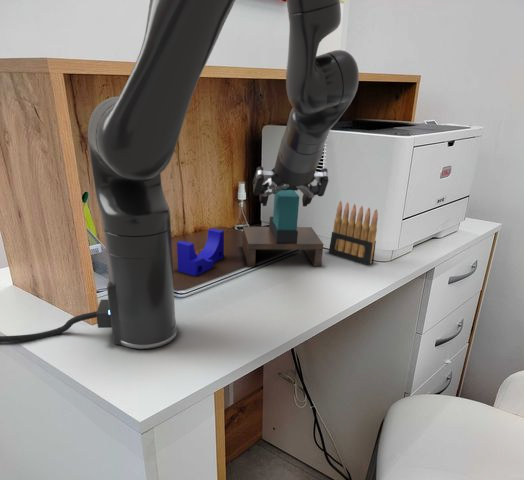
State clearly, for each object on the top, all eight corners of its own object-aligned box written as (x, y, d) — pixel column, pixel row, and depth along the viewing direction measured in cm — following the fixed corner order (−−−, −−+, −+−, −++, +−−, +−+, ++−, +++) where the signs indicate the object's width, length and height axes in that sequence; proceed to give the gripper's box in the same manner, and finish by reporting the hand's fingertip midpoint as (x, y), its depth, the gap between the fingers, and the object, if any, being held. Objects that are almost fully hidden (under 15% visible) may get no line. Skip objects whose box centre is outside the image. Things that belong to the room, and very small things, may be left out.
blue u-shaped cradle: (195, 276, 99) (195, 247, 96) (178, 271, 101) (176, 242, 98) (229, 259, 108) (229, 232, 105) (212, 254, 110) (212, 228, 107)
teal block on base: (276, 243, 104) (279, 197, 99) (269, 227, 113) (271, 184, 108) (297, 243, 104) (300, 197, 99) (288, 227, 113) (291, 185, 109)
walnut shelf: (247, 266, 105) (248, 243, 102) (242, 247, 115) (242, 226, 113) (321, 266, 107) (323, 244, 104) (309, 247, 117) (311, 227, 115)
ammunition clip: (373, 263, 110) (382, 209, 104) (369, 265, 109) (378, 210, 103) (332, 251, 116) (339, 199, 110) (328, 253, 115) (334, 200, 108)
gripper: (336, 136, 90) (315, 187, 105) (258, 134, 88) (249, 185, 103) (340, 173, 88) (318, 219, 104) (261, 171, 86) (251, 218, 102)
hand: (284, 202), depth 103 cm, fingers open, 8 cm apart
